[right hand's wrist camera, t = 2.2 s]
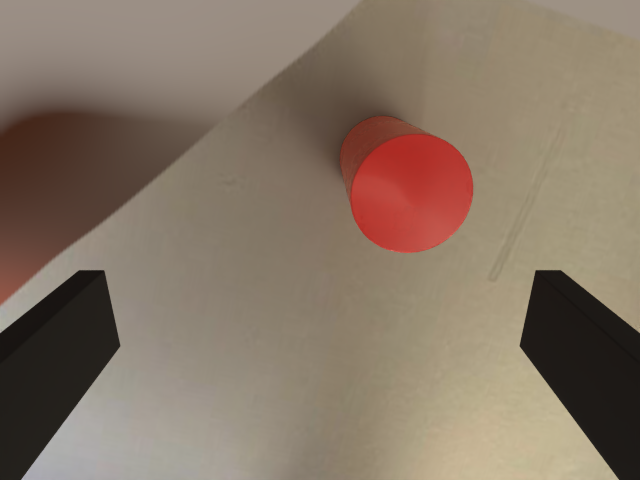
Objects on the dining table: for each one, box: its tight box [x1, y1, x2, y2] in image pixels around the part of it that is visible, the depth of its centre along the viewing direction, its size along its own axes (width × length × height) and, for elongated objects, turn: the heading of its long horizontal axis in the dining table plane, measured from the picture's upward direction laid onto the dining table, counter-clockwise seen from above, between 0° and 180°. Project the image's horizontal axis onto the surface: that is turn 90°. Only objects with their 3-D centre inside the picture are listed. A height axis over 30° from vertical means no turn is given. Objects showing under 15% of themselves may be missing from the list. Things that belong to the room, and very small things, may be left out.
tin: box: [340, 116, 473, 253], centre depth 24 cm, size 6×6×11 cm
